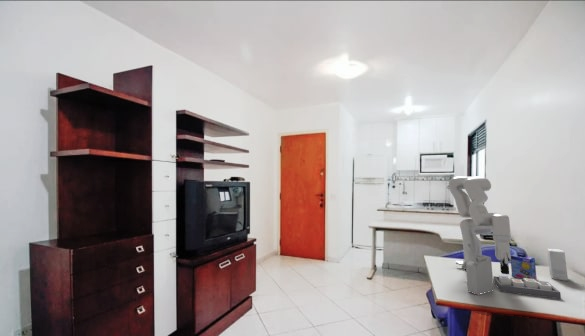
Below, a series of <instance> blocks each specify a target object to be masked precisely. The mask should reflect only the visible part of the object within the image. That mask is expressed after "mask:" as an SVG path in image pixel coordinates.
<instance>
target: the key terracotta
mask: <svg viewBox="0 0 585 336" xmlns="http://www.w3.org/2000/svg"><path fill="white" fill-rule="evenodd" d="M517 279H518V278H515V279H511V282H512V283H513V284H514V285H515V286H518V287H525V286H524V282H523V281H522V280H517Z"/></svg>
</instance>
